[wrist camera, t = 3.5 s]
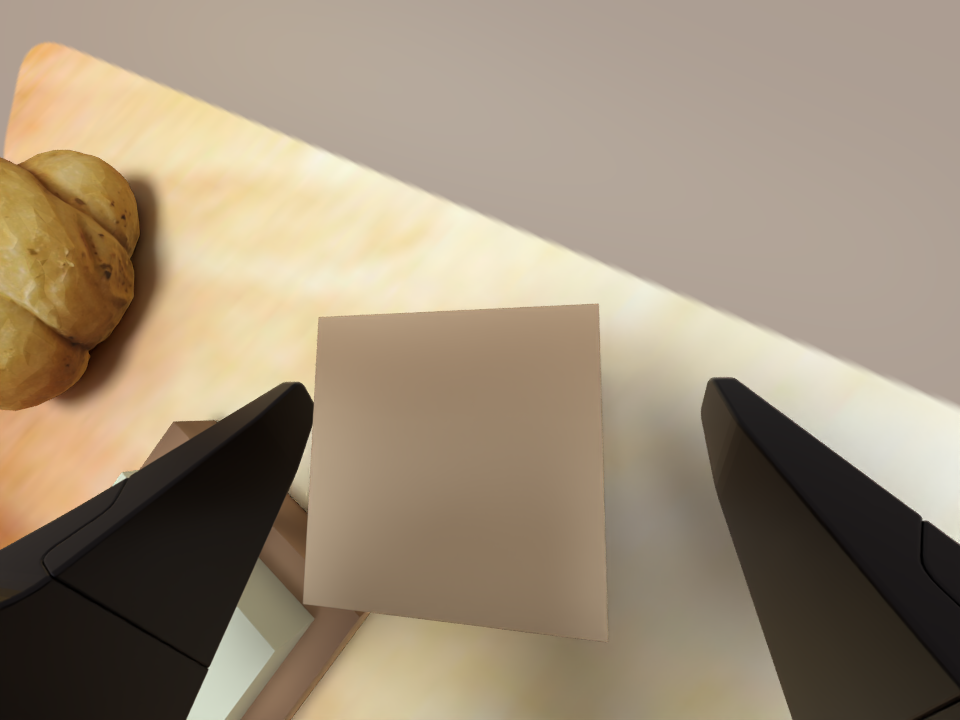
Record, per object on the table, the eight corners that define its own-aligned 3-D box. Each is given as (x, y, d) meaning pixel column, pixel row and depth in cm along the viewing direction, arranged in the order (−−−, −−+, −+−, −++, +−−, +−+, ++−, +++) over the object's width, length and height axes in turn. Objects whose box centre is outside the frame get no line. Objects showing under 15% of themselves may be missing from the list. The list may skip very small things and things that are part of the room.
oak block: (585, 491, 15) (607, 641, 5) (466, 485, 16) (303, 603, 6) (582, 369, 16) (598, 303, 6) (467, 371, 16) (319, 316, 7)
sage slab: (314, 618, 15) (275, 651, 13) (180, 800, 15) (121, 859, 13) (174, 465, 17) (121, 472, 15) (58, 627, 17) (-8, 655, 15)
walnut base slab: (385, 592, 16) (359, 617, 14) (226, 805, 17) (181, 857, 15) (214, 420, 19) (173, 421, 17) (82, 606, 19) (27, 628, 17)
